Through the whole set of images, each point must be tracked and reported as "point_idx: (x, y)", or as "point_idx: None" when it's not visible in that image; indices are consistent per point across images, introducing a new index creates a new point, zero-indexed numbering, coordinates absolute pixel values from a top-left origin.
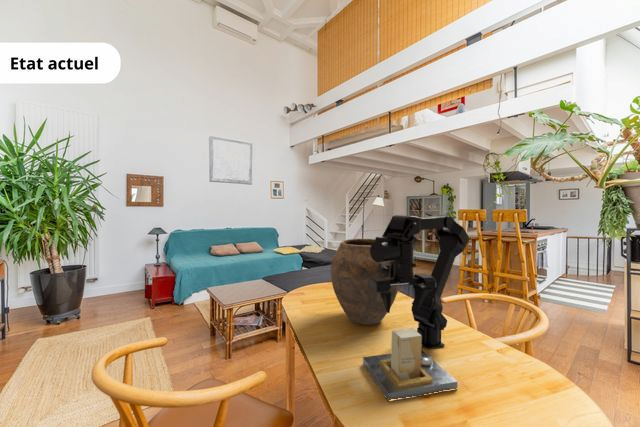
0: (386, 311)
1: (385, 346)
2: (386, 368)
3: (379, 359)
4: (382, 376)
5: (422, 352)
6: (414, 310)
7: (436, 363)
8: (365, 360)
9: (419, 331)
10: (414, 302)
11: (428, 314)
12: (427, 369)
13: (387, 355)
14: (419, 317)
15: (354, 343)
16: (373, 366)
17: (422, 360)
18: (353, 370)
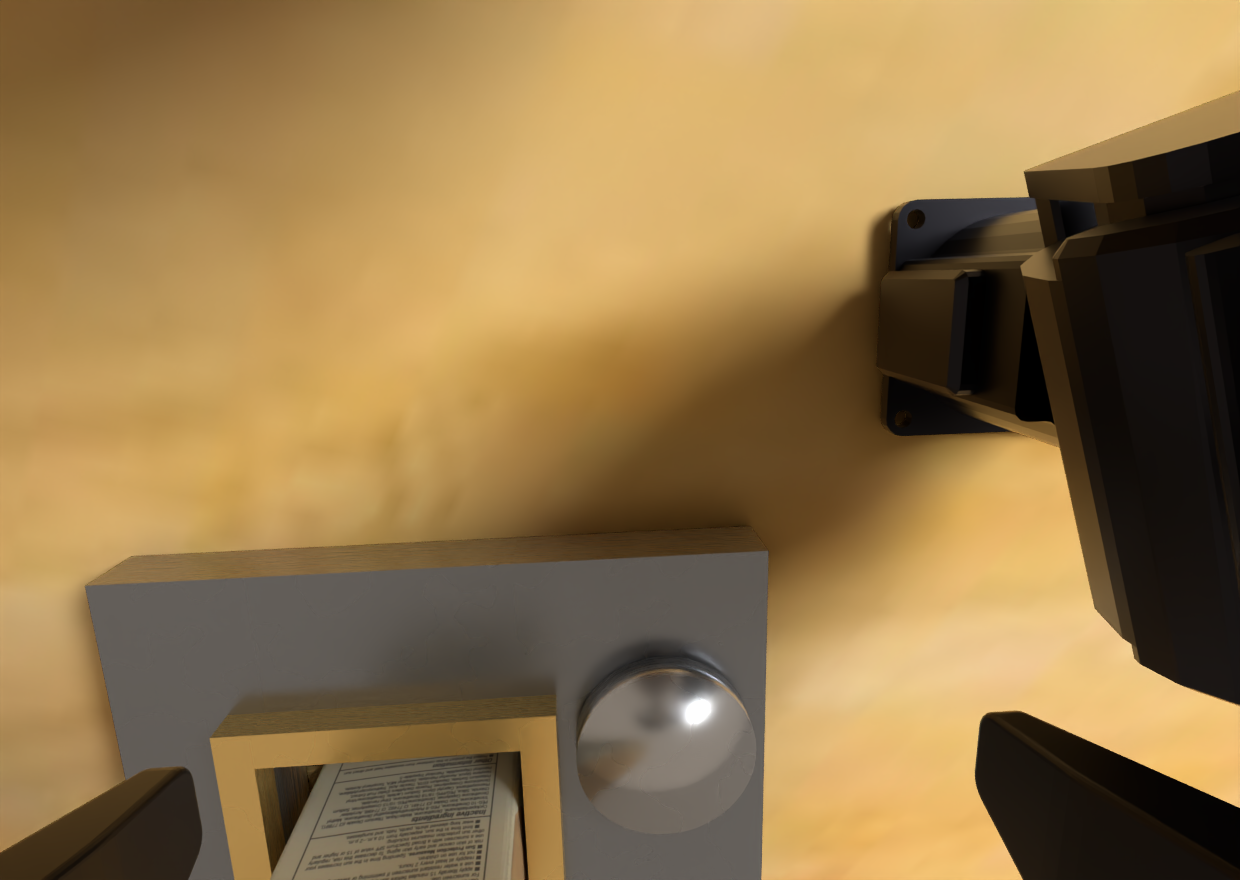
0: (145, 772)
1: (480, 282)
2: (236, 858)
3: (250, 651)
4: (196, 876)
5: (746, 608)
6: (1088, 339)
7: (758, 782)
8: (97, 642)
9: (941, 340)
10: (1108, 808)
11: (1183, 672)
12: (629, 841)
13: (361, 598)
14: (1053, 415)
15: (118, 131)
16: (155, 743)
17: (633, 796)
18: (16, 627)
